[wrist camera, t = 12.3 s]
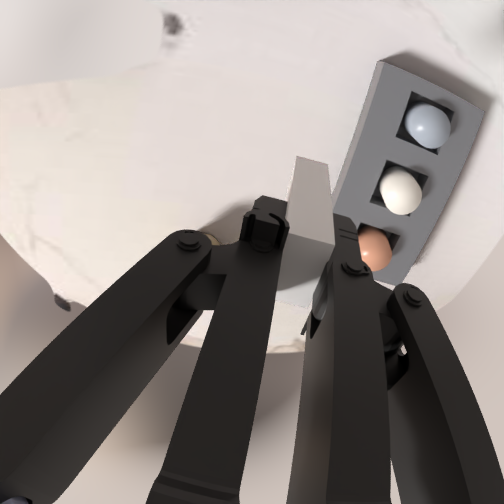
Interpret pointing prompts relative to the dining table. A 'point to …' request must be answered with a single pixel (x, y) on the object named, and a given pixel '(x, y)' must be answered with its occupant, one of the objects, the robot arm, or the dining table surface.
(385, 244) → the terracotta key
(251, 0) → the dining table surface
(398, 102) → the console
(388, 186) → the ivory key
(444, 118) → the slate key
